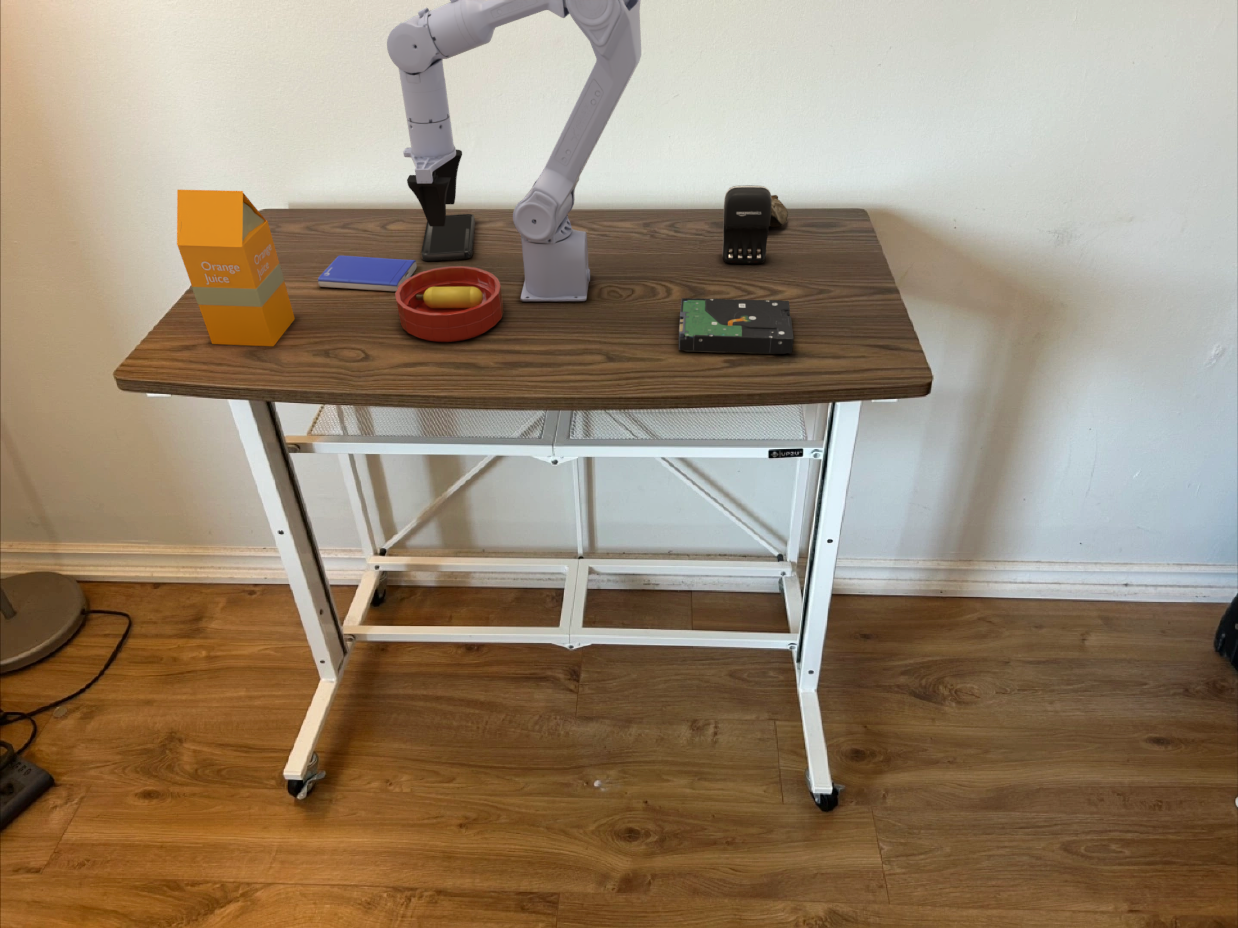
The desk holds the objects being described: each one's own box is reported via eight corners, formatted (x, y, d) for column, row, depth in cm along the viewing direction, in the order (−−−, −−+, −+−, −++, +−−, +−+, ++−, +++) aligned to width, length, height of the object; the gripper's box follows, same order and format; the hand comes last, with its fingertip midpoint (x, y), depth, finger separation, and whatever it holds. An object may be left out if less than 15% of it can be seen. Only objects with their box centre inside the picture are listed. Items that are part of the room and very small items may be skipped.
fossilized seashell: (783, 199, 149) (724, 210, 150) (784, 174, 143) (722, 186, 144) (792, 237, 146) (731, 248, 147) (794, 213, 140) (730, 225, 141)
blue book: (316, 278, 132) (396, 283, 130) (339, 253, 138) (415, 258, 136) (319, 287, 133) (398, 293, 131) (341, 263, 139) (417, 268, 137)
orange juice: (236, 316, 126) (191, 177, 114) (295, 318, 125) (257, 179, 113) (210, 344, 120) (160, 201, 108) (273, 347, 119) (230, 203, 107)
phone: (420, 255, 138) (428, 215, 149) (421, 261, 138) (429, 222, 150) (471, 252, 138) (475, 213, 150) (472, 258, 139) (475, 219, 151)
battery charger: (721, 266, 135) (725, 194, 128) (720, 255, 138) (724, 184, 131) (767, 267, 135) (774, 194, 128) (765, 255, 138) (772, 184, 131)
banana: (482, 312, 125) (485, 300, 127) (479, 293, 123) (482, 282, 125) (416, 312, 125) (420, 300, 127) (412, 294, 123) (416, 282, 125)
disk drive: (786, 317, 123) (679, 314, 124) (789, 299, 121) (680, 296, 122) (792, 357, 115) (677, 353, 116) (795, 338, 113) (678, 334, 114)
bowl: (509, 294, 130) (506, 265, 127) (495, 344, 119) (492, 314, 116) (413, 294, 130) (408, 266, 127) (390, 344, 119) (384, 315, 116)
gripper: (410, 100, 124) (424, 194, 133) (385, 135, 113) (403, 235, 122) (460, 100, 124) (471, 194, 133) (440, 134, 113) (454, 235, 121)
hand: (442, 214), depth 127 cm, fingers open, 7 cm apart
